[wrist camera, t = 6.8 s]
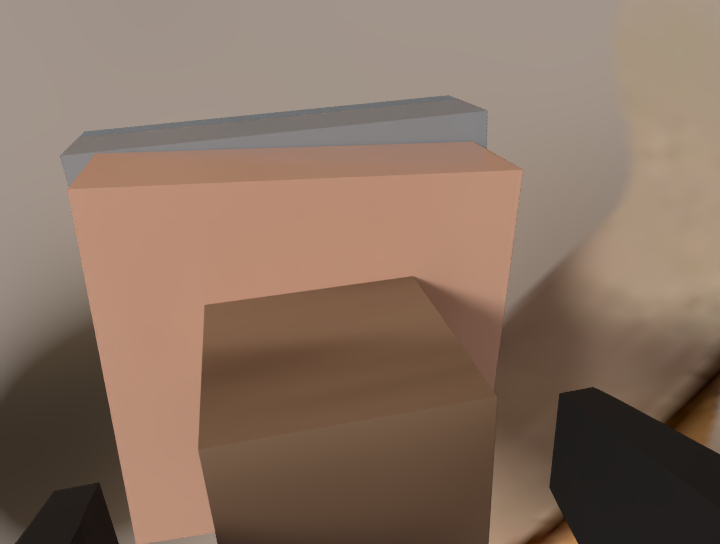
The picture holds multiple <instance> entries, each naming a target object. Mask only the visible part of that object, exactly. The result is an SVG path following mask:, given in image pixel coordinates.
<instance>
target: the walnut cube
mask: <svg viewBox="0 0 720 544" xmlns="http://www.w3.org/2000/svg"><path fill="white" fill-rule="evenodd" d="M497 397H498V396H497V395H496V393H495V392H494V390H493V389H492V388H491V386H490V385H489V383H488V382H487V381H486V379H485V378H484V376H483V375H482V373H481V372H480V371H479V369H478V368H477V366H476V365H475V364H474V362H473V361H472V359H471V358H470V356H469V355H468V354H467V352H466V351H465V349H464V348H463V346H462V345H461V344H460V342H459V341H458V339H457V338H456V337H455V335H454V334H453V332H452V331H451V329H450V328H449V327H448V325H447V324H446V322H445V321H444V320H443V318H442V317H441V315H440V314H439V312H438V311H437V310H436V308H435V307H434V305H433V304H432V303H431V301H430V300H429V298H428V297H427V295H426V294H425V293H424V291H423V290H422V288H421V287H420V285H419V284H418V283H417V281H416V280H415V278H414V277H413V276H410V277H403V278H395V279H388V280H381V281H374V282H367V283H359V284H352V285H345V286H338V287H331V288H323V289H316V290H309V291H302V292H294V293H287V294H280V295H273V296H266V297H258V298H251V299H244V300H237V301H230V302H222V303H215V304H208V305H204V328H203V350H202V372H201V394H200V416H199V438H198V452H199V457H200V462H201V467H202V472H203V476H204V481H205V486H206V491H207V495H208V500H209V505H210V510H211V515H212V519H213V524H214V529H215V534H216V538H217V543H218V544H489V528H490V511H491V495H492V479H493V463H494V446H495V430H496V414H497Z"/></svg>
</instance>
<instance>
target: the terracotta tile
mask: <svg viewBox="0 0 720 544" xmlns="http://www.w3.org/2000/svg"><path fill="white" fill-rule="evenodd" d="M522 175H523V169H521V168H519V167H517V166H515V165H514V164H512V163H510V162H508V161H507V160H505V159H503V158H501V157H500V156H498V155H496V154H494V153H492V152H491V151H489V150H487V149H485V148H484V147H482V146H480V145H478V144H476V143H475V142H473V141H471V142H439V143H408V144H377V145H345V146H314V147H282V148H251V149H219V150H188V151H156V152H125V153H95V155H94V156H93V157H92V159H91V160H90V161H89V162H88V164H87V165H86V166H85V167H84V169H83V170H82V171H81V173H80V174H79V175H78V176H77V178H76V179H75V180H74V182H73V183H72V184H71V185H70V187H69V188H68V194H69V200H70V205H71V210H72V215H73V220H74V225H75V230H76V236H77V241H78V246H79V251H80V257H81V261H82V267H83V272H84V277H85V282H86V287H87V293H88V298H89V303H90V308H91V313H92V318H93V323H94V329H95V334H96V339H97V344H98V349H99V355H100V359H101V365H102V370H103V376H104V381H105V386H106V391H107V396H108V401H109V406H110V412H111V417H112V422H113V427H114V432H115V437H116V442H117V447H118V453H119V458H120V463H121V469H122V474H123V479H124V484H125V489H126V494H127V500H128V505H129V509H130V515H131V520H132V525H133V531H134V536H135V541H136V544H145V543H152V542H158V541H165V540H171V539H177V538H184V537H190V536H196V535H202V534H209V533H215V529H214V524H213V519H212V515H211V510H210V505H209V500H208V495H207V491H206V486H205V481H204V476H203V472H202V467H201V462H200V457H199V452H198V438H199V416H200V394H201V372H202V350H203V328H204V305H208V304H215V303H222V302H230V301H237V300H244V299H251V298H258V297H266V296H273V295H280V294H287V293H294V292H302V291H309V290H316V289H323V288H331V287H338V286H345V285H352V284H359V283H367V282H374V281H381V280H388V279H395V278H403V277H410V276H413V277H414V278H415V280H416V281H417V283H418V284H419V285H420V287H421V288H422V290H423V291H424V293H425V294H426V295H427V297H428V298H429V300H430V301H431V303H432V304H433V305H434V307H435V308H436V310H437V311H438V312H439V314H440V315H441V317H442V318H443V320H444V321H445V322H446V324H447V325H448V327H449V328H450V329H451V331H452V332H453V334H454V335H455V337H456V338H457V339H458V341H459V342H460V344H461V345H462V346H463V348H464V349H465V351H466V352H467V354H468V355H469V356H470V358H471V359H472V361H473V362H474V364H475V365H476V366H477V368H478V369H479V371H480V372H481V373H482V375H483V376H484V378H485V379H486V381H487V382H488V383H489V385H490V386H491V388H492V389H493V390H494V387H495V379H496V372H497V364H498V356H499V349H500V341H501V334H502V326H503V319H504V311H505V303H506V296H507V288H508V281H509V272H510V266H511V258H512V251H513V242H514V235H515V227H516V220H517V213H518V204H519V198H520V190H521V182H522Z"/></svg>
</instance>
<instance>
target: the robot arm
mask: <svg viewBox="0 0 720 544" xmlns="http://www.w3.org/2000/svg"><path fill="white" fill-rule="evenodd" d="M549 488H550V490H551V492H552V494H553V496H554V498H555V500H556V502H557V504H558V506H559V508H560V510H561V512H562V514H563V516H564V518H565V520H566V522H567V523H568V525H569V527H570V529H571V531H572V533H573V535H574V537H575V538H576V540H577V542H578V544H720V454H718V453H716V452H714V451H713V450H711V449H709V448H707V447H705V446H703V445H701V444H699V443H698V442H696V441H694V440H692V439H690V438H688V437H686V436H685V435H683V434H681V433H679V432H677V431H675V430H674V429H672V428H670V427H668V426H666V425H664V424H663V423H661V422H659V421H657V420H655V419H653V418H652V417H650V416H648V415H646V414H644V413H642V412H641V411H639V410H637V409H635V408H633V407H631V406H629V405H628V404H626V403H624V402H622V401H620V400H618V399H616V398H614V397H612V396H610V395H608V394H606V393H604V392H602V391H600V390H598V389H596V388H594V387H591V388H586V389H581V390H576V391H570V392H565V393H560V394H559V403H558V412H557V421H556V431H555V440H554V450H553V459H552V468H551V478H550V487H549ZM15 544H119V543H118V540H117V537H116V534H115V531H114V528H113V524H112V521H111V518H110V515H109V512H108V509H107V505H106V502H105V499H104V496H103V493H102V490H101V487H100V483H94V484H89V485H83V486H78V487H73V488H68V489H62V490H58V491H54V492H53V493H52V495H51V496H50V497H49V498H48V499H47V501H46V502H45V503H44V505H43V506H42V507H41V509H40V510H39V511H38V513H37V514H36V516H35V517H34V518H33V520H32V521H31V523H30V524H29V525H28V526H27V528H26V529H25V531H24V532H23V534H22V535H21V536H20V538H19V539H18V540H17V542H16V543H15Z"/></svg>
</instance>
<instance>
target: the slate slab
mask: <svg viewBox="0 0 720 544" xmlns="http://www.w3.org/2000/svg"><path fill="white" fill-rule="evenodd" d="M471 141H473V142H475V143H476V144H478V145H480V146H482V147H484V148H485V149H486V145H487V110H484V109H482V108H479V107H477V106H474V105H472V104H469V103H467V102H464V101H462V100H459V99H457V98H454V97H452V96H449V95H446V96H435V97H425V98H415V99H406V100H395V101H385V102H376V103H366V104H355V105H346V106H335V107H325V108H315V109H305V110H296V111H285V112H275V113H265V114H255V115H245V116H235V117H225V118H214V119H204V120H194V121H184V122H175V123H164V124H154V125H144V126H134V127H124V128H114V129H104V130H94V131H85V132H84V133H83V134H82V135H81V136H80V137H79V138H77V140H76V141H75V142H73V143H72V145H70V147H68V148H67V150H65V151H64V152H63V153H62V154H61V155H60V158H61V161H62V164H63V168H64V172H65V175H66V179H67V182H68V186H69V187H70V185H71V184H72V183H73V182H74V180H75V179H76V178H77V176H78V175H79V174H80V173H81V171H82V170H83V169H84V167H85V166H86V165H87V164H88V162H89V161H90V160H91V159H92V157H93V156H94V155H95V153H125V152H156V151H188V150H219V149H251V148H282V147H314V146H345V145H377V144H408V143H439V142H471Z"/></svg>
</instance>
